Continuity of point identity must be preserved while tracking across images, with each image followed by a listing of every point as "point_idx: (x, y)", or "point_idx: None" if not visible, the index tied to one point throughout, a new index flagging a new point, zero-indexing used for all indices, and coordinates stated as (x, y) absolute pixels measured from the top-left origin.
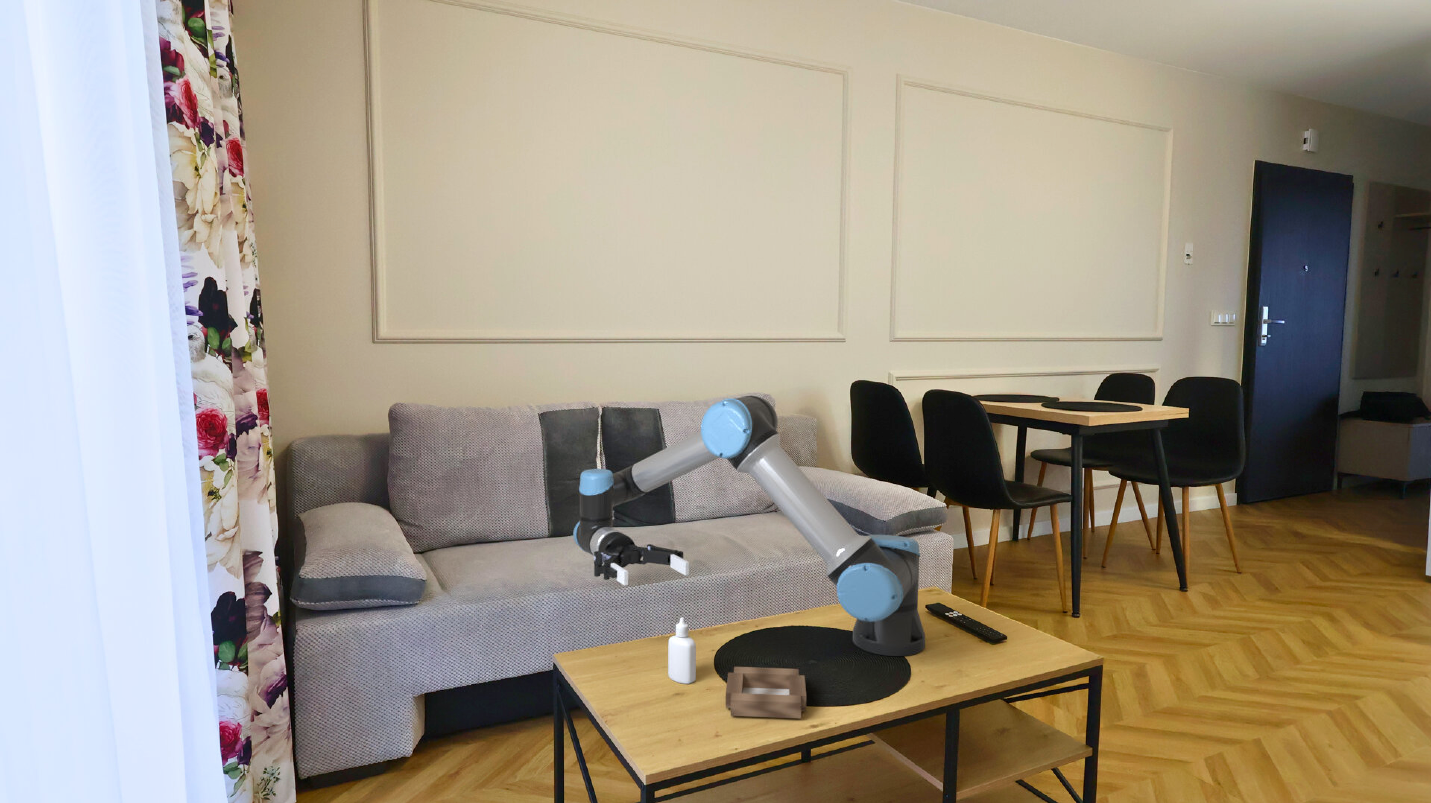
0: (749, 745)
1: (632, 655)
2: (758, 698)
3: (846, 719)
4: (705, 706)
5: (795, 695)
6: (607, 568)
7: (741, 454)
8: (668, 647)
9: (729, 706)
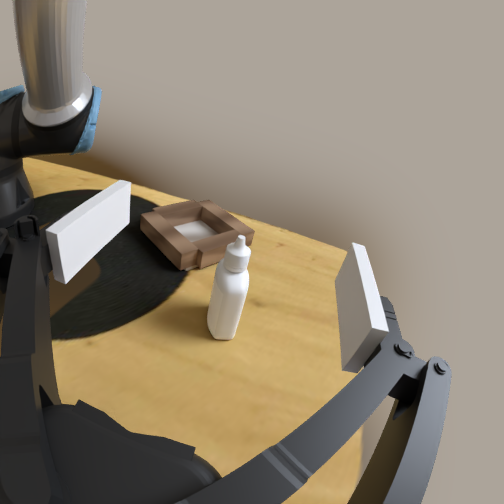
0: (269, 227)
1: (217, 446)
2: (230, 218)
3: (178, 199)
4: (252, 270)
5: (199, 204)
6: (398, 331)
7: None
8: (243, 302)
9: None
